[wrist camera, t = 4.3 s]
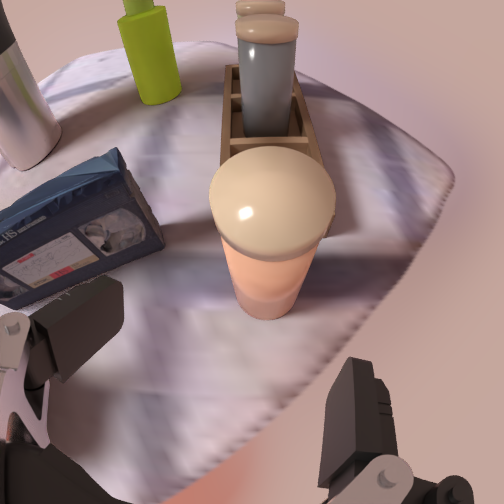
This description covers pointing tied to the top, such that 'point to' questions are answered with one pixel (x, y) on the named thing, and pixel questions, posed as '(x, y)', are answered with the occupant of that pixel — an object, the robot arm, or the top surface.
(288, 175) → the terracotta jar
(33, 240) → the vhs cassette tape
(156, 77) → the soap dispenser
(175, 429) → the top surface
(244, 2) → the olive jar
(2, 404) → the robot arm
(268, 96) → the slate blue jar
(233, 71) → the walnut spice rack
